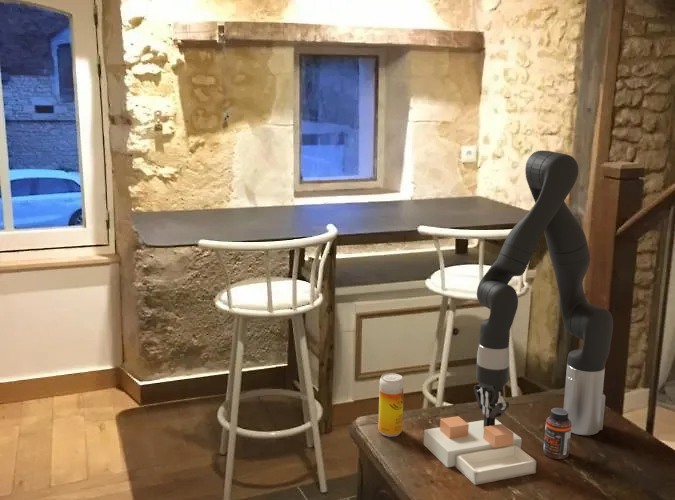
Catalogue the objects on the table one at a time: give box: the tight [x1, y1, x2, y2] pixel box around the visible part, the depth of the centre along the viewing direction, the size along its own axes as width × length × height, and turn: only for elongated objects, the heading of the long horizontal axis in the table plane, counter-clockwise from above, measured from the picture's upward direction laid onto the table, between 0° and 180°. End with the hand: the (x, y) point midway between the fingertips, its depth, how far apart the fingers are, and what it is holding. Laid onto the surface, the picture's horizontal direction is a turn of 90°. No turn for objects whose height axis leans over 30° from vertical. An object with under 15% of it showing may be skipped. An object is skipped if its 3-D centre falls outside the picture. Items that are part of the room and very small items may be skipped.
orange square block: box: [439, 415, 469, 439], centre depth 183 cm, size 5×5×3 cm
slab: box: [423, 418, 522, 468], centre depth 183 cm, size 20×12×4 cm, turn 110°
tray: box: [455, 445, 537, 486], centre depth 173 cm, size 16×8×3 cm, turn 110°
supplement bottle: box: [543, 407, 572, 460], centre depth 180 cm, size 6×6×11 cm
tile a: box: [483, 423, 515, 448], centre depth 179 cm, size 5×5×3 cm
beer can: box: [377, 372, 405, 438], centre depth 190 cm, size 6×6×15 cm
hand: (488, 429), depth 183 cm, fingers closed
